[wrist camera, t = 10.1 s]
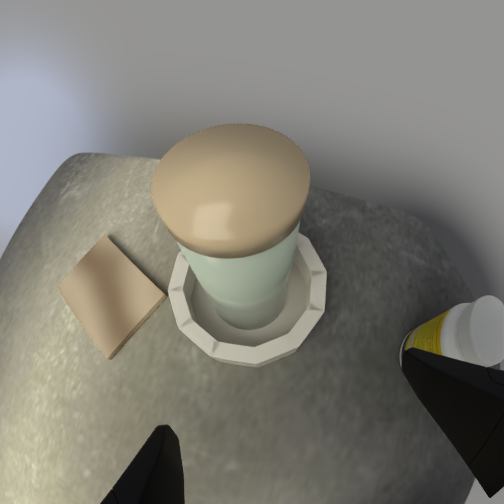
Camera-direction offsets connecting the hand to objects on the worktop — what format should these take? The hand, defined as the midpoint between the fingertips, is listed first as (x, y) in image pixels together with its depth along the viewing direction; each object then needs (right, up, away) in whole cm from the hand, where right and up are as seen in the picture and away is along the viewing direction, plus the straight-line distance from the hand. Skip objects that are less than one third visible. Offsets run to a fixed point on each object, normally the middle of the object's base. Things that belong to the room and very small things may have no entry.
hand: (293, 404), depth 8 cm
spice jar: (-2, +2, +11) cm, 12 cm away
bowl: (-2, +2, +12) cm, 12 cm away
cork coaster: (-14, +2, +13) cm, 19 cm away
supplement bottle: (+12, -3, +9) cm, 15 cm away
